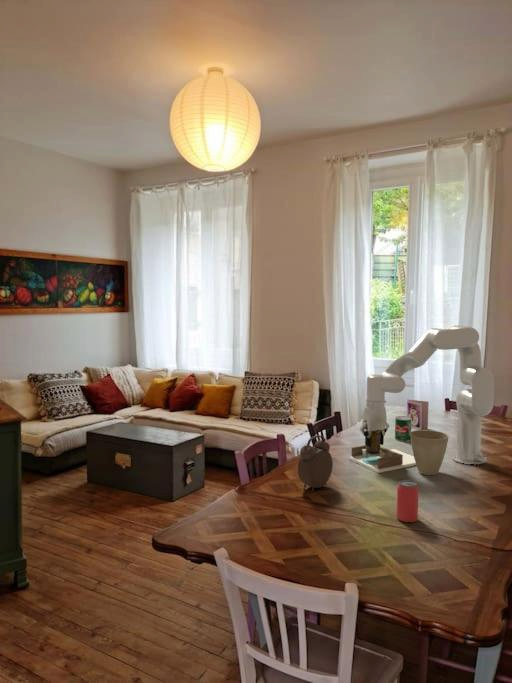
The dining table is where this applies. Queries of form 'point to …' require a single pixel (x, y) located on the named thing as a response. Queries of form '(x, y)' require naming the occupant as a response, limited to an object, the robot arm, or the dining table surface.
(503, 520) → the dining table surface
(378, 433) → the condiment
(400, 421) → the canned tomato
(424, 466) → the plant pot
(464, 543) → the dining table surface
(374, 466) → the board
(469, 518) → the dining table surface
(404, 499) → the beer can
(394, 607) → the dining table surface
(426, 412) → the pink box
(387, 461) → the tray
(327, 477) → the alarm clock
